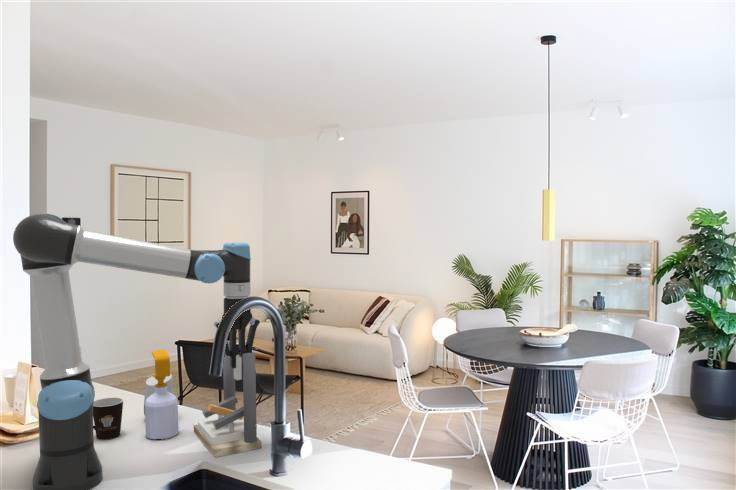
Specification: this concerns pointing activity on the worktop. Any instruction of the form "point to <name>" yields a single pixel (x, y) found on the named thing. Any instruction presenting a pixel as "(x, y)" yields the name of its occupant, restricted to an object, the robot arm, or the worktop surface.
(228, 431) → the block
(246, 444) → the board
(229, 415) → the bar
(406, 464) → the worktop surface
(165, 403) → the soap bottle
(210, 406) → the middle paddle
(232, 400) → the back paddle
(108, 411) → the coffee mug
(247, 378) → the posts
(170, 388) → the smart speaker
